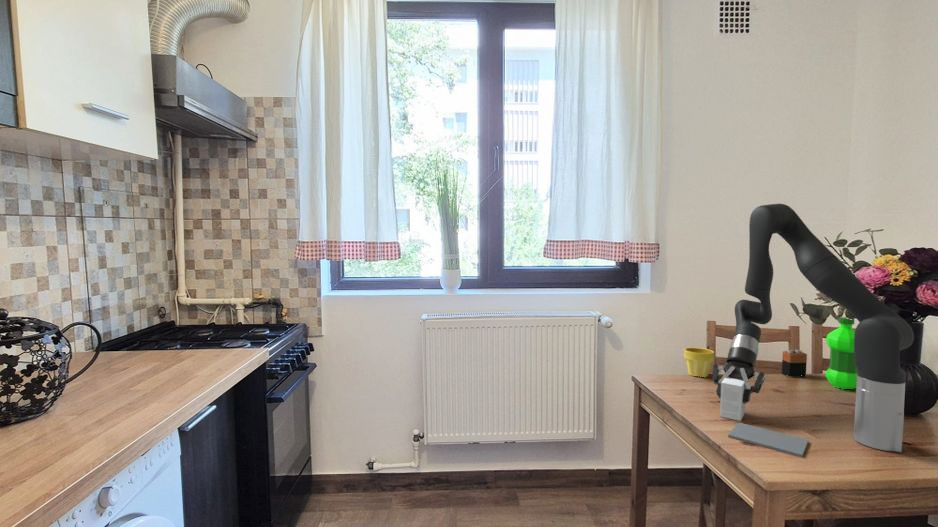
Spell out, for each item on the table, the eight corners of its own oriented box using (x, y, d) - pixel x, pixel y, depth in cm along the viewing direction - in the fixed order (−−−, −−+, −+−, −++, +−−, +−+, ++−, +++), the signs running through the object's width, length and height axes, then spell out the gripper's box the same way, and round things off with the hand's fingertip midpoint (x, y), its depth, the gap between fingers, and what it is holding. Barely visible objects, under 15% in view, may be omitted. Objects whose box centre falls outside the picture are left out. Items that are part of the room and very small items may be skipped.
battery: (806, 377, 171) (807, 351, 170) (789, 377, 170) (790, 351, 170) (797, 373, 175) (798, 348, 175) (780, 374, 175) (782, 348, 174)
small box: (724, 408, 139) (725, 375, 138) (745, 413, 136) (746, 379, 135) (719, 416, 133) (720, 382, 132) (741, 421, 129) (742, 386, 129)
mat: (808, 442, 116) (808, 439, 116) (802, 457, 109) (802, 454, 108) (738, 424, 127) (738, 422, 127) (728, 436, 120) (728, 434, 120)
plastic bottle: (826, 381, 166) (829, 314, 165) (863, 387, 159) (867, 318, 157) (821, 387, 159) (825, 318, 158) (861, 394, 152) (865, 322, 150)
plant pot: (702, 370, 179) (702, 346, 178) (719, 378, 169) (720, 353, 168) (677, 371, 178) (678, 347, 177) (694, 379, 168) (694, 354, 167)
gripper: (715, 342, 143) (703, 387, 135) (768, 349, 133) (758, 399, 126) (719, 355, 148) (707, 399, 140) (771, 363, 138) (761, 412, 130)
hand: (731, 399), depth 133 cm, fingers closed on small box, 6 cm apart
